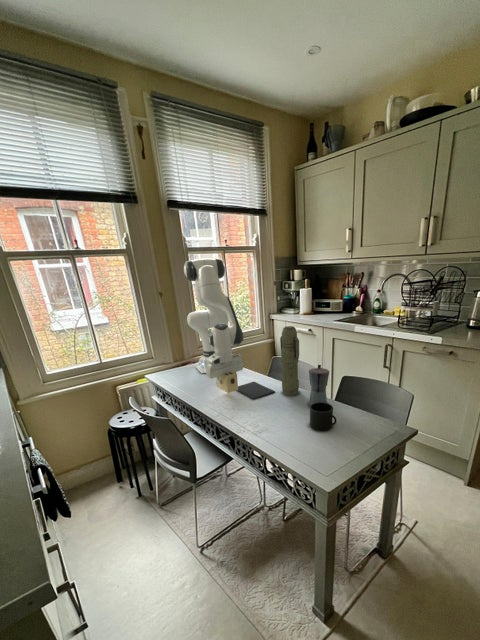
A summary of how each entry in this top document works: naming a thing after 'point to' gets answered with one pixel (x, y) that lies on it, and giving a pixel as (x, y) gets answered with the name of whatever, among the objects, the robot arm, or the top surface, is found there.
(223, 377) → the toaster
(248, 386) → the mat
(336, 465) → the top surface
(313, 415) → the mug
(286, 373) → the thermos
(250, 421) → the top surface
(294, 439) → the top surface
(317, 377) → the moka pot
